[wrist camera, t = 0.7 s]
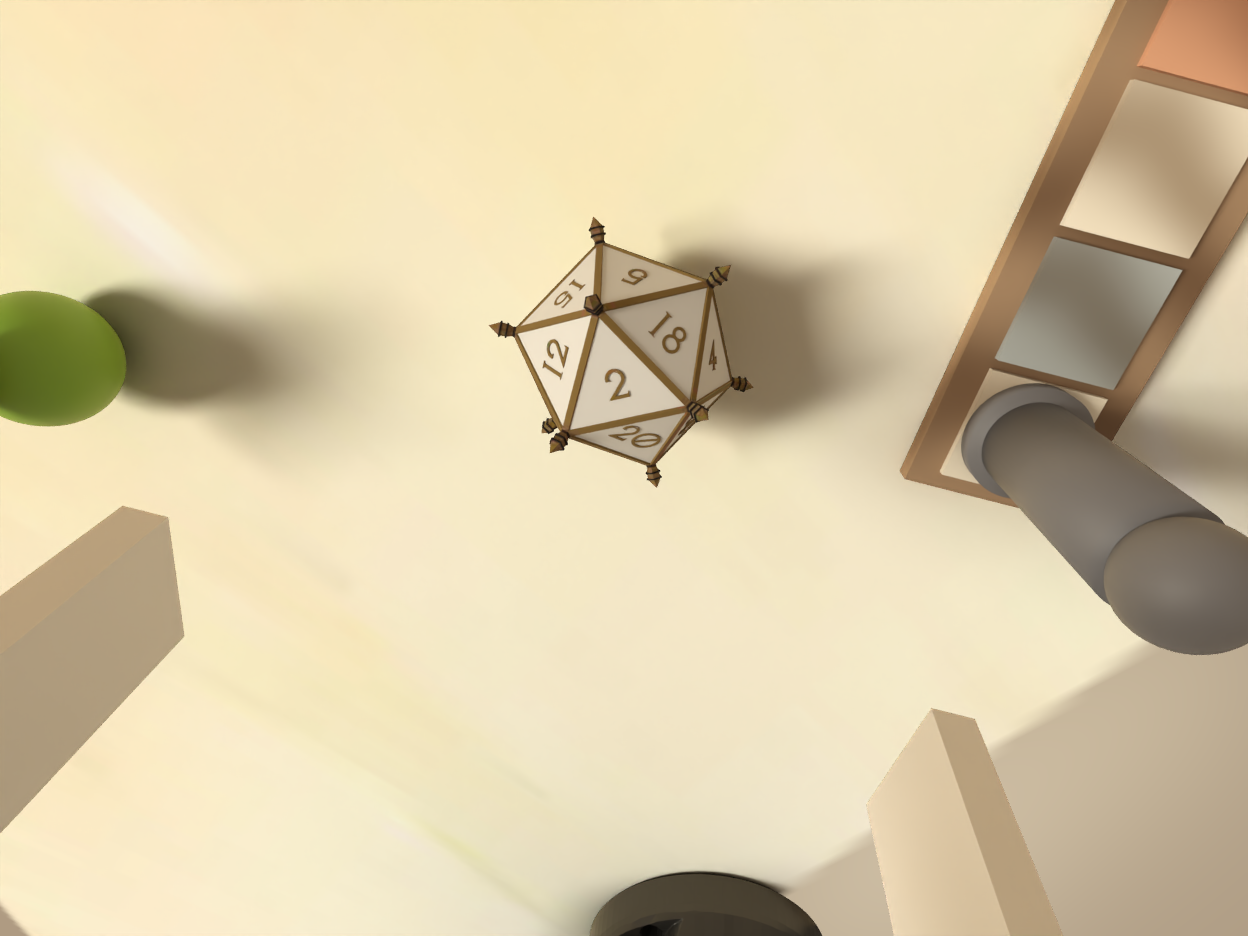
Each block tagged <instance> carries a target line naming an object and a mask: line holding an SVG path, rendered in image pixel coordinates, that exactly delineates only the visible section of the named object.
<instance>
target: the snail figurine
mask: <svg viewBox="0 0 1248 936" xmlns="http://www.w3.org/2000/svg"><path fill="white" fill-rule="evenodd" d="M125 374H126V357H125V352H124V348H123V346H122V343H121V341H120V339H119V337H118V335H117V334H116V332H115V331H114V329H113V328H112V327H111V326H110V324H109V323H108V322H107V321H106V320H105V319H104V318H103V317H101V316H100V315H99V314H98V313H96V312H95V311H94V310H92V309H91V308H89V307H88V306H86V305H84V304H82V303H80V302H78V301H76V300H73V299H71V298H68V297H65V296H62V295H58V294H54V293H49V292H41V291H19V292H12V293H7V294H3V295H0V416H1V417H4V418H6V419H9V420H12V421H15V422H18V423H22V424H27V425H34V426H61V425H68V424H72V423H76V422H79V421H82V420H85V419H87V418H89V417H91V416H93V415H95V414H97V413H98V412H100V411H101V410H103V409H104V408H105V407H107V406H108V405H109V404H110V403H111V402H112V401H113V399H114V398H115V397H116V396H117V394H118V393H119V391H120V389H121V387H122V385H123V382H124V379H125Z"/></svg>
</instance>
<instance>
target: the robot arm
mask: <svg viewBox="0 0 1248 936" xmlns="http://www.w3.org/2000/svg"><path fill="white" fill-rule="evenodd" d="M183 637H184V630H183V623H182V615H181V608H180V601H179V593H178V586H177V579H176V571H175V564H174V557H173V549H172V542H171V535H170V527H169V520H168V517H165V516H161V515H157V514H153V513H149V512H145V511H141V510H137V509H133V508H129V507H125V506H122V507H120V508H119V509H118V510H116V511H115V512H114V513H112V514H111V515H110V516H108V517H107V518H105V519H104V520H103V521H101V522H100V523H99V524H97V525H96V526H95V527H93V528H92V529H91V530H89V531H88V532H86V533H85V534H84V535H82V536H81V537H80V538H78V539H77V540H76V541H74V542H73V543H72V544H70V545H69V546H67V547H66V548H65V549H63V550H62V551H61V552H59V553H58V554H57V555H55V556H54V557H53V558H51V559H50V560H48V561H47V562H46V563H44V564H43V565H42V566H40V567H39V568H38V569H36V570H35V571H34V572H32V573H31V574H29V575H28V576H27V577H25V578H24V579H23V580H21V581H20V582H19V583H17V584H16V585H15V586H13V587H12V588H10V589H9V590H8V591H6V592H5V593H4V594H2V595H1V596H0V833H1V832H2V831H3V830H4V829H5V828H6V827H7V826H8V825H9V823H10V822H11V821H12V820H13V819H14V818H15V817H16V816H17V815H18V814H19V813H20V812H21V811H22V810H23V808H24V807H25V806H26V805H27V804H28V803H29V802H30V801H31V800H32V799H33V798H34V797H35V796H36V795H37V793H38V792H39V791H40V790H41V789H42V788H43V787H44V786H45V785H46V784H47V783H48V782H49V781H50V780H51V778H52V777H53V776H54V775H55V774H56V773H57V772H58V771H59V770H60V769H61V768H62V767H63V766H64V765H65V763H66V762H67V761H68V760H69V759H70V758H71V757H72V756H73V755H74V754H75V753H76V752H77V751H78V750H79V748H80V747H81V746H82V745H83V744H84V743H85V742H86V741H87V740H88V739H89V738H90V737H91V736H92V735H93V733H94V732H95V731H96V730H97V729H98V728H99V727H100V726H101V725H102V724H103V723H104V722H105V721H106V720H107V718H108V717H109V716H110V715H111V714H112V713H113V712H114V711H115V710H116V709H117V708H118V707H119V706H120V705H121V703H122V702H123V701H124V700H125V699H126V698H127V697H128V696H129V695H130V694H131V693H132V692H133V691H134V690H135V688H136V687H137V686H138V685H139V684H140V683H141V682H142V681H143V680H144V679H145V678H146V677H147V676H148V675H149V674H150V672H151V671H152V670H153V669H154V668H155V667H156V666H157V665H158V664H159V663H160V662H161V661H162V660H163V659H164V657H165V656H166V655H167V654H168V653H169V652H170V651H171V650H172V649H173V648H174V647H175V646H176V645H177V644H178V642H179V641H180V640H181V639H182V638H183ZM866 806H867V811H868V815H869V820H870V825H871V830H872V834H873V839H874V844H875V848H876V853H877V858H878V863H879V867H880V872H881V876H882V881H883V886H884V890H885V896H886V900H887V905H888V910H889V914H890V919H891V924H892V928H893V933H894V936H1063V934H1062V931H1061V929H1060V927H1059V924H1058V922H1057V919H1056V917H1055V915H1054V912H1053V909H1052V907H1051V905H1050V902H1049V900H1048V897H1047V895H1046V892H1045V890H1044V887H1043V885H1042V883H1041V880H1040V878H1039V875H1038V873H1037V870H1036V868H1035V866H1034V863H1033V860H1032V858H1031V856H1030V853H1029V851H1028V848H1027V846H1026V843H1025V841H1024V838H1023V836H1022V833H1021V831H1020V829H1019V826H1018V824H1017V821H1016V819H1015V817H1014V814H1013V811H1012V809H1011V806H1010V804H1009V802H1008V799H1007V797H1006V794H1005V792H1004V789H1003V787H1002V784H1001V782H1000V780H999V777H998V775H997V772H996V770H995V767H994V765H993V762H992V760H991V757H990V755H989V753H988V750H987V748H986V745H985V743H984V740H983V738H982V735H981V733H980V731H979V728H978V726H977V723H976V721H975V719H972V718H968V717H964V716H960V715H956V714H952V713H948V712H944V711H940V710H936V709H932V708H931V709H930V711H929V712H928V714H927V715H926V717H925V718H924V720H923V721H922V723H921V724H920V726H919V727H918V729H917V730H916V732H915V733H914V735H913V736H912V738H911V739H910V740H909V742H908V743H907V745H906V746H905V748H904V749H903V751H902V752H901V754H900V755H899V757H898V758H897V760H896V761H895V763H894V764H893V766H892V767H891V769H890V770H889V772H888V773H887V774H886V776H885V777H884V779H883V780H882V782H881V783H880V785H879V786H878V788H877V789H876V791H875V792H874V794H873V795H872V797H871V798H870V800H869V801H868V803H867V804H866ZM590 936H822V934H821V932H820V930H819V929H818V927H817V926H816V924H815V923H814V921H813V920H812V919H811V918H810V917H809V915H808V914H807V913H806V912H804V911H803V910H802V909H801V908H800V907H799V906H798V905H796V904H795V903H793V902H792V901H790V900H789V899H787V898H786V897H784V896H782V895H781V894H779V893H777V892H775V891H773V890H770V889H768V888H766V887H763V886H761V885H758V884H755V883H752V882H748V881H745V880H741V879H736V878H732V877H726V876H718V875H707V874H684V875H673V876H666V877H661V878H656V879H652V880H649V881H645V882H642V883H640V884H637V885H634V886H632V887H630V888H628V889H626V890H624V891H622V892H621V893H619V894H618V895H616V896H615V897H613V898H612V899H611V900H609V901H608V902H607V903H606V904H605V905H604V906H603V907H602V909H601V910H600V911H599V913H598V914H597V916H596V917H595V919H594V921H593V924H592V927H591V930H590Z"/></svg>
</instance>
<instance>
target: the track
mask: <svg viewBox="0 0 1248 936" xmlns="http://www.w3.org/2000/svg"><path fill="white" fill-rule="evenodd" d="M1247 213H1248V0H1115V2H1114V5H1113V7H1112V9H1111V11H1110V13H1109V15H1108V18H1107V20H1106V22H1105V24H1104V26H1103V29H1102V31H1101V33H1100V35H1099V37H1098V39H1097V42H1096V44H1095V46H1094V48H1093V50H1092V53H1091V55H1090V57H1089V59H1088V61H1087V63H1086V66H1085V68H1084V70H1083V72H1082V74H1081V77H1080V79H1079V81H1078V83H1077V85H1076V87H1075V90H1074V92H1073V94H1072V96H1071V98H1070V101H1069V103H1068V105H1067V107H1066V109H1065V111H1064V114H1063V116H1062V118H1061V120H1060V122H1059V125H1058V127H1057V129H1056V131H1055V133H1054V135H1053V138H1052V140H1051V142H1050V144H1049V146H1048V149H1047V151H1046V153H1045V155H1044V157H1043V160H1042V162H1041V164H1040V166H1039V168H1038V170H1037V173H1036V175H1035V177H1034V179H1033V181H1032V184H1031V186H1030V188H1029V190H1028V192H1027V194H1026V197H1025V199H1024V201H1023V203H1022V205H1021V208H1020V210H1019V212H1018V214H1017V216H1016V218H1015V221H1014V223H1013V225H1012V227H1011V229H1010V232H1009V234H1008V236H1007V238H1006V240H1005V242H1004V245H1003V247H1002V249H1001V251H1000V253H999V256H998V258H997V260H996V262H995V264H994V266H993V269H992V271H991V273H990V275H989V277H988V280H987V282H986V284H985V286H984V288H983V290H982V293H981V295H980V297H979V299H978V301H977V304H976V306H975V308H974V310H973V312H972V314H971V317H970V319H969V321H968V323H967V325H966V328H965V330H964V332H963V334H962V336H961V338H960V341H959V343H958V345H957V347H956V349H955V352H954V354H953V356H952V358H951V360H950V362H949V365H948V367H947V369H946V371H945V373H944V376H943V378H942V380H941V382H940V384H939V386H938V389H937V391H936V393H935V395H934V397H933V400H932V402H931V404H930V406H929V408H928V411H927V413H926V415H925V417H924V419H923V421H922V424H921V426H920V428H919V430H918V432H917V435H916V437H915V439H914V441H913V443H912V445H911V448H910V450H909V452H908V454H907V456H906V459H905V461H904V463H903V465H902V467H901V469H900V472H901V474H902V475H903V477H904V478H905V479H907V480H911V481H915V482H919V483H923V484H927V485H931V486H935V487H938V488H942V489H946V490H950V491H954V492H958V493H962V494H966V495H970V496H974V497H978V498H982V499H985V500H989V501H993V502H997V503H1001V504H1005V505H1009V506H1013V507H1017V508H1019V507H1018V506H1017V505H1016V504H1015V503H1014V501H1013V500H1012V499H1011V498H1005V497H1001V496H998V495H996V494H994V493H991V492H990V491H988V490H987V489H985V488H984V487H983V486H982V485H980V484H979V483H978V481H977V480H976V479H975V478H974V477H973V475H972V474H971V473H970V472H969V470H968V469H967V467H966V465H965V463H964V461H963V458H962V453H961V441H962V436H963V432H964V429H965V427H966V424H967V422H968V421H969V419H970V417H971V416H972V415H973V413H974V412H975V411H976V410H977V408H978V407H979V406H980V405H981V404H982V403H984V402H985V401H986V400H987V399H989V398H990V397H992V396H993V395H995V394H996V393H998V392H1000V391H1002V390H1004V389H1007V388H1009V387H1013V386H1016V385H1021V384H1026V383H1043V384H1048V385H1052V386H1055V387H1058V388H1060V389H1062V390H1064V391H1066V392H1067V393H1069V394H1070V395H1072V396H1073V397H1075V398H1076V399H1077V400H1079V401H1080V402H1081V403H1082V404H1083V405H1084V406H1085V407H1086V408H1087V409H1088V411H1089V412H1090V414H1091V416H1092V418H1093V421H1094V424H1095V430H1096V431H1098V432H1099V433H1100V434H1102V435H1103V436H1105V437H1106V438H1107V439H1109V440H1110V441H1112V440H1113V438H1114V436H1115V435H1116V433H1117V431H1118V430H1119V428H1120V426H1121V425H1122V423H1123V421H1124V420H1125V418H1126V416H1127V415H1128V413H1129V411H1130V409H1131V408H1132V406H1133V404H1134V403H1135V401H1136V399H1137V398H1138V396H1139V394H1140V393H1141V391H1142V389H1143V388H1144V386H1145V384H1146V383H1147V381H1148V379H1149V378H1150V376H1151V374H1152V373H1153V371H1154V369H1155V367H1156V366H1157V364H1158V362H1159V361H1160V359H1161V357H1162V356H1163V354H1164V352H1165V351H1166V349H1167V347H1168V346H1169V344H1170V342H1171V341H1172V339H1173V337H1174V336H1175V334H1176V332H1177V331H1178V329H1179V327H1180V326H1181V324H1182V322H1183V320H1184V319H1185V317H1186V315H1187V314H1188V312H1189V310H1190V309H1191V307H1192V305H1193V304H1194V302H1195V300H1196V299H1197V297H1198V295H1199V294H1200V292H1201V290H1202V289H1203V287H1204V285H1205V284H1206V282H1207V280H1208V278H1209V277H1210V275H1211V273H1212V272H1213V270H1214V268H1215V267H1216V265H1217V263H1218V262H1219V260H1220V258H1221V257H1222V255H1223V253H1224V252H1225V250H1226V248H1227V247H1228V245H1229V243H1230V242H1231V240H1232V238H1233V237H1234V235H1235V233H1236V231H1237V230H1238V228H1239V226H1240V225H1241V223H1242V221H1243V220H1244V218H1245V216H1246V215H1247Z"/></svg>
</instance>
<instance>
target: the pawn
mask: <svg viewBox="0 0 1248 936" xmlns="http://www.w3.org/2000/svg"><path fill="white" fill-rule="evenodd" d="M961 453H962V458H963V461H964V463H965V465H966V467H967V469H968V470H969V472H970V473H971V474H972V475H973V477H974V478H975V479H976V480H977V481H978V483H979V484H980V485H982V486H983V487H984V488H985V489H987V490H988V491H990V492H991V493H994V494H996V495H998V496H1001V497H1005V498H1011V499H1012V500H1013V501H1014V503H1015V504H1016V505H1017V506H1018V507H1019V508H1020V509H1021V510H1022V511H1023V513H1024V514H1025V515H1026V516H1027V517H1028V518H1029V519H1030V520H1031V521H1032V523H1033V524H1034V525H1035V526H1036V527H1037V528H1038V529H1039V530H1040V531H1041V533H1042V534H1043V535H1044V536H1045V537H1046V538H1047V539H1048V540H1049V542H1050V543H1051V544H1052V545H1053V546H1054V547H1055V548H1056V549H1057V550H1058V552H1059V553H1060V554H1061V555H1062V556H1063V557H1064V558H1065V559H1066V560H1067V562H1068V563H1069V564H1070V565H1071V566H1072V567H1073V568H1074V569H1075V570H1076V572H1077V573H1078V574H1079V575H1080V576H1081V577H1082V578H1083V579H1084V580H1085V582H1086V583H1087V584H1088V585H1089V586H1090V587H1091V588H1092V589H1093V590H1094V592H1095V593H1096V594H1097V595H1098V596H1099V597H1100V598H1101V599H1102V600H1103V601H1105V602H1106V603H1108V604H1109V605H1111V607H1112V609H1113V611H1114V612H1115V614H1116V615H1117V616H1118V618H1119V619H1120V620H1121V622H1122V623H1123V624H1124V625H1126V626H1127V627H1128V628H1129V629H1130V630H1131V631H1132V632H1133V633H1135V634H1136V635H1138V636H1139V637H1141V638H1142V639H1144V640H1145V641H1147V642H1149V643H1152V644H1154V645H1156V646H1158V647H1160V648H1164V649H1167V650H1170V651H1173V652H1178V653H1183V654H1191V655H1210V654H1218V653H1223V652H1227V651H1231V650H1233V649H1236V648H1239V647H1241V646H1243V645H1245V644H1247V643H1248V537H1246V536H1245V535H1243V534H1242V533H1240V532H1238V531H1237V530H1235V529H1233V528H1231V527H1229V526H1226V525H1225V524H1224V523H1223V521H1222V520H1221V519H1220V518H1219V517H1218V516H1216V515H1215V514H1214V513H1212V512H1211V511H1209V510H1208V509H1207V508H1205V507H1204V506H1202V505H1201V504H1199V503H1198V502H1197V501H1195V500H1194V499H1192V498H1191V497H1190V496H1188V495H1187V494H1185V493H1184V492H1183V491H1181V490H1180V489H1178V488H1177V487H1175V486H1174V485H1173V484H1171V483H1170V482H1168V481H1167V480H1166V479H1164V478H1163V477H1161V476H1160V475H1158V474H1157V473H1156V472H1154V471H1153V470H1151V469H1150V468H1149V467H1147V466H1146V465H1144V464H1143V463H1141V462H1140V461H1139V460H1137V459H1136V458H1134V457H1133V456H1132V455H1130V454H1129V453H1127V452H1126V451H1124V450H1123V449H1122V448H1120V447H1119V446H1117V445H1116V444H1115V443H1113V442H1112V441H1110V440H1109V439H1107V438H1106V437H1105V436H1103V435H1102V434H1100V433H1099V432H1098V431H1096V430H1095V424H1094V421H1093V418H1092V416H1091V414H1090V412H1089V411H1088V409H1087V408H1086V407H1085V406H1084V405H1083V404H1082V403H1081V402H1080V401H1079V400H1077V399H1076V398H1075V397H1073V396H1072V395H1070V394H1069V393H1067V392H1066V391H1064V390H1062V389H1060V388H1058V387H1055V386H1052V385H1048V384H1043V383H1026V384H1021V385H1016V386H1013V387H1009V388H1007V389H1004V390H1002V391H1000V392H998V393H996V394H995V395H993V396H992V397H990V398H989V399H987V400H986V401H985V402H984V403H982V404H981V405H980V406H979V407H978V408H977V410H976V411H975V412H974V413H973V415H972V416H971V417H970V419H969V421H968V422H967V424H966V427H965V429H964V432H963V436H962V441H961Z"/></svg>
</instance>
